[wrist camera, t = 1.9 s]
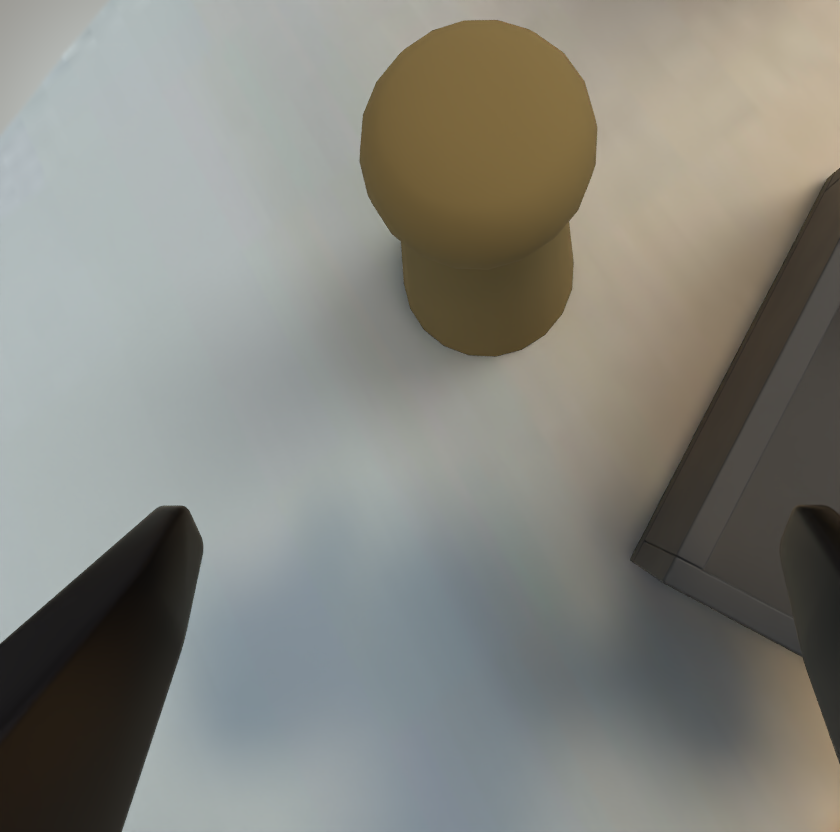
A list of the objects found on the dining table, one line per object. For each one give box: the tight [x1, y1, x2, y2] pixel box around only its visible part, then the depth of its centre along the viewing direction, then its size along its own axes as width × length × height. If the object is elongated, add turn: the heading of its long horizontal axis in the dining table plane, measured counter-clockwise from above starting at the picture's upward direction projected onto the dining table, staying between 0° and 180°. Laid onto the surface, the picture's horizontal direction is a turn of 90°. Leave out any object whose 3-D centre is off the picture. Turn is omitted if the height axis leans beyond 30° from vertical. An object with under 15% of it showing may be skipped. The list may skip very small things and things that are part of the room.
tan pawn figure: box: [360, 20, 597, 356], centre depth 19 cm, size 6×6×11 cm
